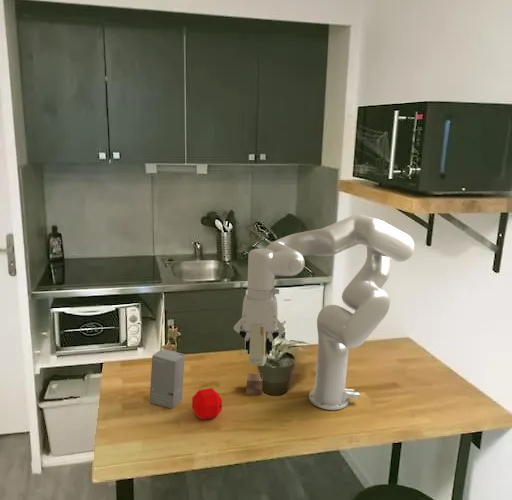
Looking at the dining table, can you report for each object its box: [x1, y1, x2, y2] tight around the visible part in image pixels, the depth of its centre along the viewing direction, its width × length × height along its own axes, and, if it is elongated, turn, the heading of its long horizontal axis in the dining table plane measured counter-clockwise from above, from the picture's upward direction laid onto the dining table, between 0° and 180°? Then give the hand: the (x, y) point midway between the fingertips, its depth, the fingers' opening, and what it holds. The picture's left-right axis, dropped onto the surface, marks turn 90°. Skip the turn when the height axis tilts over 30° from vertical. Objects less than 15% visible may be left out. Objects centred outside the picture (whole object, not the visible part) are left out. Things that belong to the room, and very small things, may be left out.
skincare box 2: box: [248, 325, 268, 367], centre depth 151 cm, size 6×4×12 cm
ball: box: [191, 387, 223, 421], centre depth 155 cm, size 8×8×8 cm
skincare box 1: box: [149, 348, 186, 409], centre depth 161 cm, size 8×7×16 cm
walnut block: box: [245, 372, 263, 396], centre depth 171 cm, size 5×5×5 cm
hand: (258, 351), depth 152 cm, fingers closed on skincare box 2, 5 cm apart
